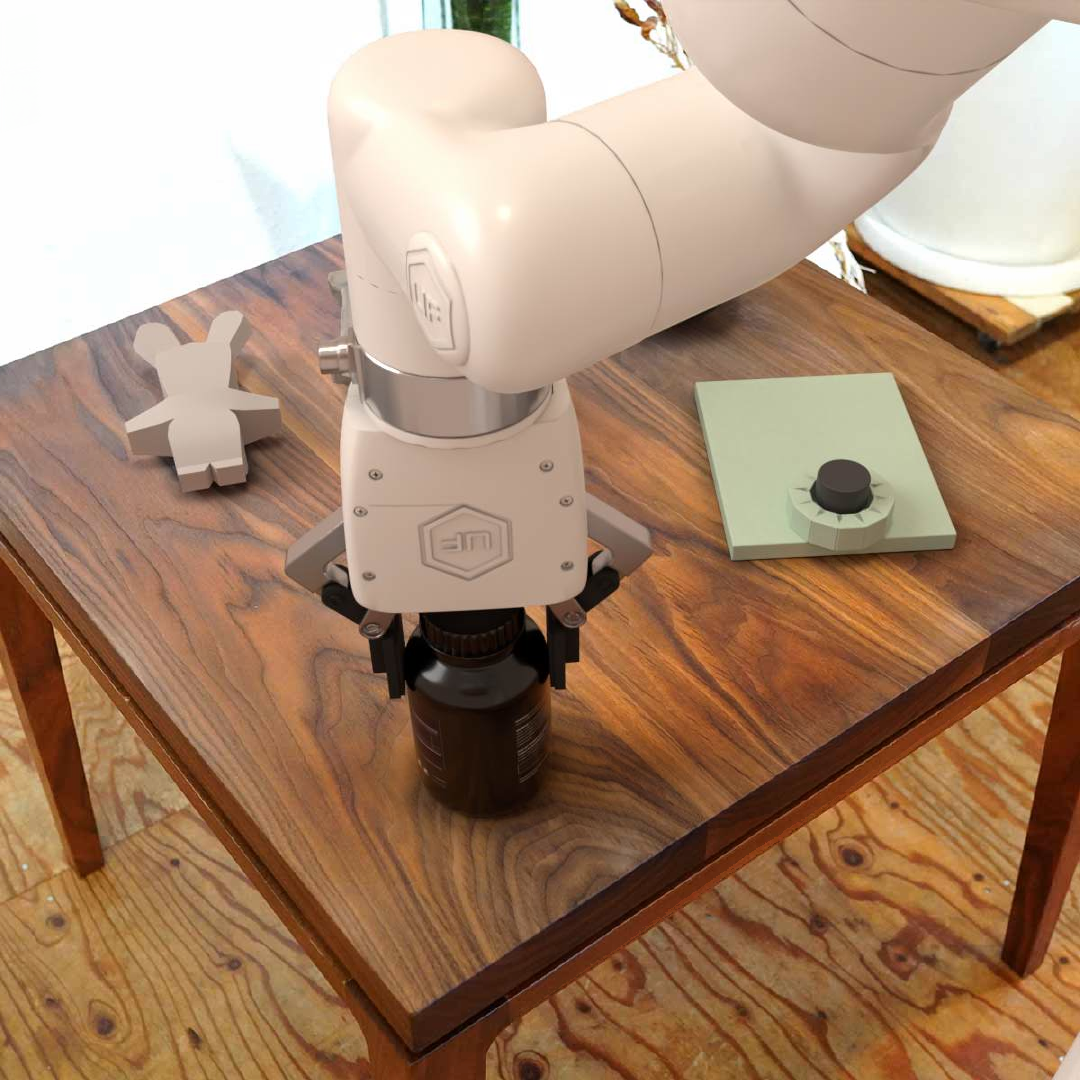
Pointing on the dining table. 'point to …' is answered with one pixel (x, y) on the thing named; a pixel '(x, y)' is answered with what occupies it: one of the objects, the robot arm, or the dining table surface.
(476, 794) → the supplement bottle
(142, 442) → the bunny figurine
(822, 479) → the tare button
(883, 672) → the dining table surface
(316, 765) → the dining table surface
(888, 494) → the scale
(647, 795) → the dining table surface
